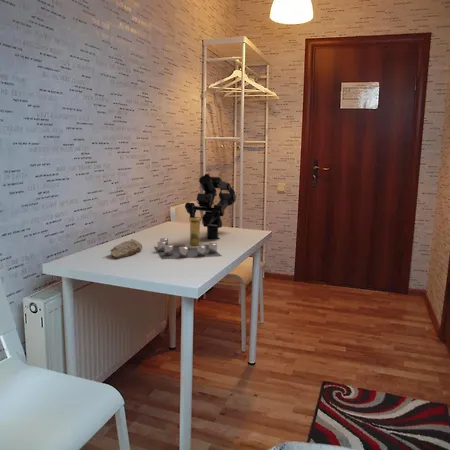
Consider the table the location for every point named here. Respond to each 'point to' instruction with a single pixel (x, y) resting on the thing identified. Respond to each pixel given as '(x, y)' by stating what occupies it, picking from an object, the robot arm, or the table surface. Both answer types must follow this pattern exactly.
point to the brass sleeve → (194, 231)
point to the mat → (191, 253)
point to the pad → (192, 246)
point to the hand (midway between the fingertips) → (199, 223)
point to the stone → (126, 249)
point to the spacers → (184, 249)
